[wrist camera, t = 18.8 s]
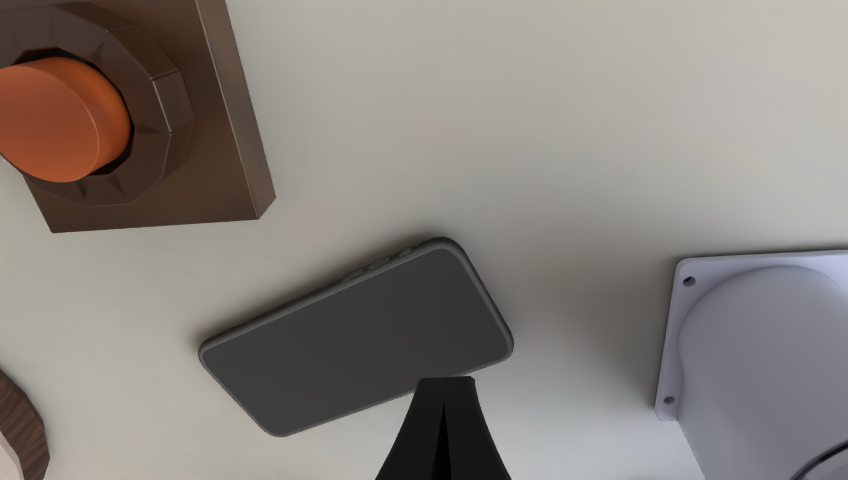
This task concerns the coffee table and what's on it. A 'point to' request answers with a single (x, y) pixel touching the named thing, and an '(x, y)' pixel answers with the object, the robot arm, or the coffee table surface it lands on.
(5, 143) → the button
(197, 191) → the button block
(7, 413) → the mug
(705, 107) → the coffee table surface
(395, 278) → the smartphone
